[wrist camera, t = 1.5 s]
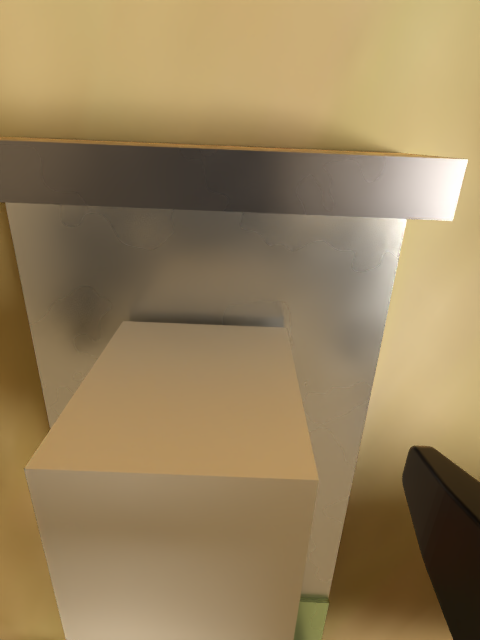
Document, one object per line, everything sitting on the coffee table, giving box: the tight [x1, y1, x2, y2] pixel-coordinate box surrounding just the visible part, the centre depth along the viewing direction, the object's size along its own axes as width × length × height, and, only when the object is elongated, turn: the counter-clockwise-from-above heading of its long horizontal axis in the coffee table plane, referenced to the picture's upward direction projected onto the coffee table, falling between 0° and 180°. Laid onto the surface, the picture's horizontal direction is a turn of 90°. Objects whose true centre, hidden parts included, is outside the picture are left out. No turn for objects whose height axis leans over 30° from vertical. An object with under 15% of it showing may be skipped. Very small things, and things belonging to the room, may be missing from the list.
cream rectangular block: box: [24, 321, 319, 640], centre depth 9 cm, size 9×4×5 cm, turn 178°
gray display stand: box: [0, 137, 468, 640], centre depth 12 cm, size 24×9×6 cm, turn 178°
